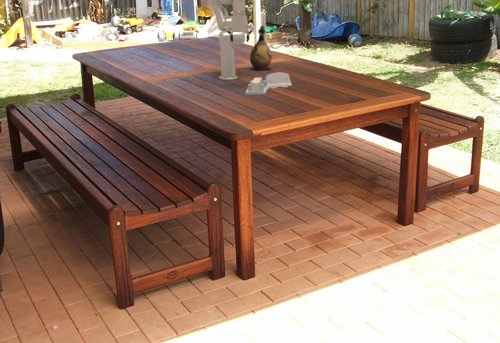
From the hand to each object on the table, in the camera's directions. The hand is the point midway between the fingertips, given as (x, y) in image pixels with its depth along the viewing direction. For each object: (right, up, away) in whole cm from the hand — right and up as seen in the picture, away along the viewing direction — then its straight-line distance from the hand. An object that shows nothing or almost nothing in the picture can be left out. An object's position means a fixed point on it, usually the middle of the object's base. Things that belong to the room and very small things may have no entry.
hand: (239, 41), depth 434 cm
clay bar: (+11, -30, -6) cm, 32 cm away
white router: (+24, -27, +7) cm, 37 cm away
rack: (+11, -32, -5) cm, 34 cm away
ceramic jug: (+14, -8, +64) cm, 66 cm away
